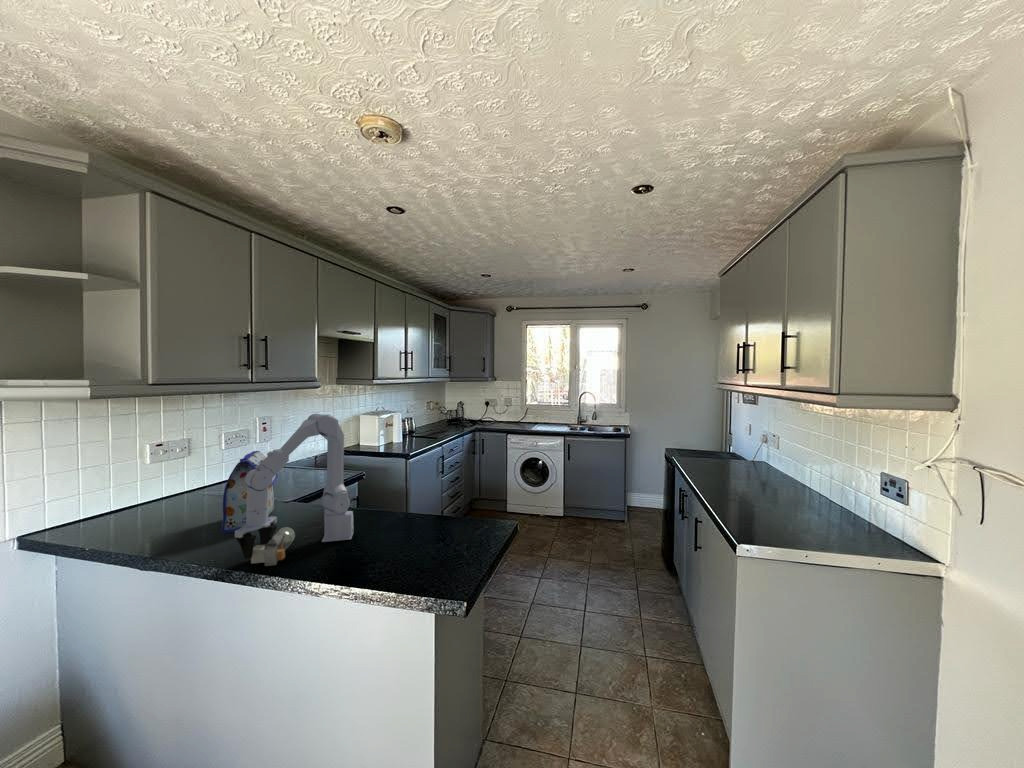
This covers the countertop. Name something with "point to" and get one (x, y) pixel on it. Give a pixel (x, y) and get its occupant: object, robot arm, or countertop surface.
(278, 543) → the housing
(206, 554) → the countertop surface
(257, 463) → the lunch bag
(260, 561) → the plug
